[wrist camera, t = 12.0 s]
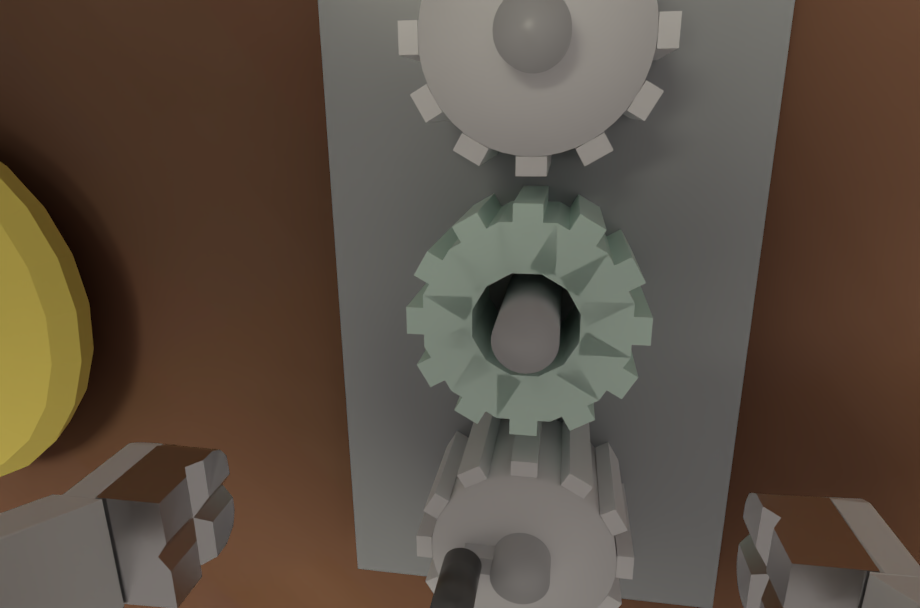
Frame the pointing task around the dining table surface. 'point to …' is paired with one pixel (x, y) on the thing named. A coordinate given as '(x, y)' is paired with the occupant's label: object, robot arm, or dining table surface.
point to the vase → (37, 328)
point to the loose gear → (582, 332)
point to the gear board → (637, 193)
